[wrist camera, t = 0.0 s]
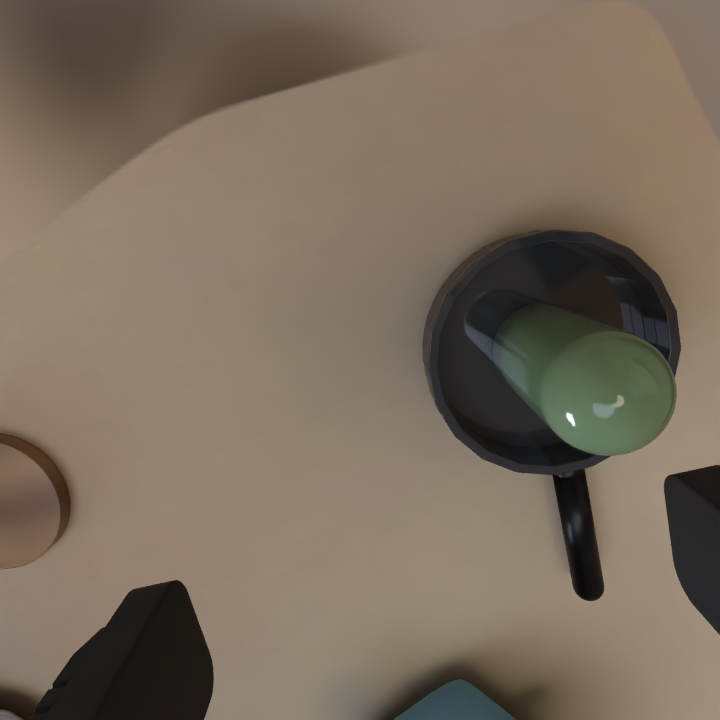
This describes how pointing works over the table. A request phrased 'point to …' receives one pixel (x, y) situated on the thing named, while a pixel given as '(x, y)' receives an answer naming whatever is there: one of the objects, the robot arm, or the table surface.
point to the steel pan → (508, 294)
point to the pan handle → (579, 534)
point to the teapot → (455, 705)
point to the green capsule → (586, 378)
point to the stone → (8, 715)
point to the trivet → (29, 503)
